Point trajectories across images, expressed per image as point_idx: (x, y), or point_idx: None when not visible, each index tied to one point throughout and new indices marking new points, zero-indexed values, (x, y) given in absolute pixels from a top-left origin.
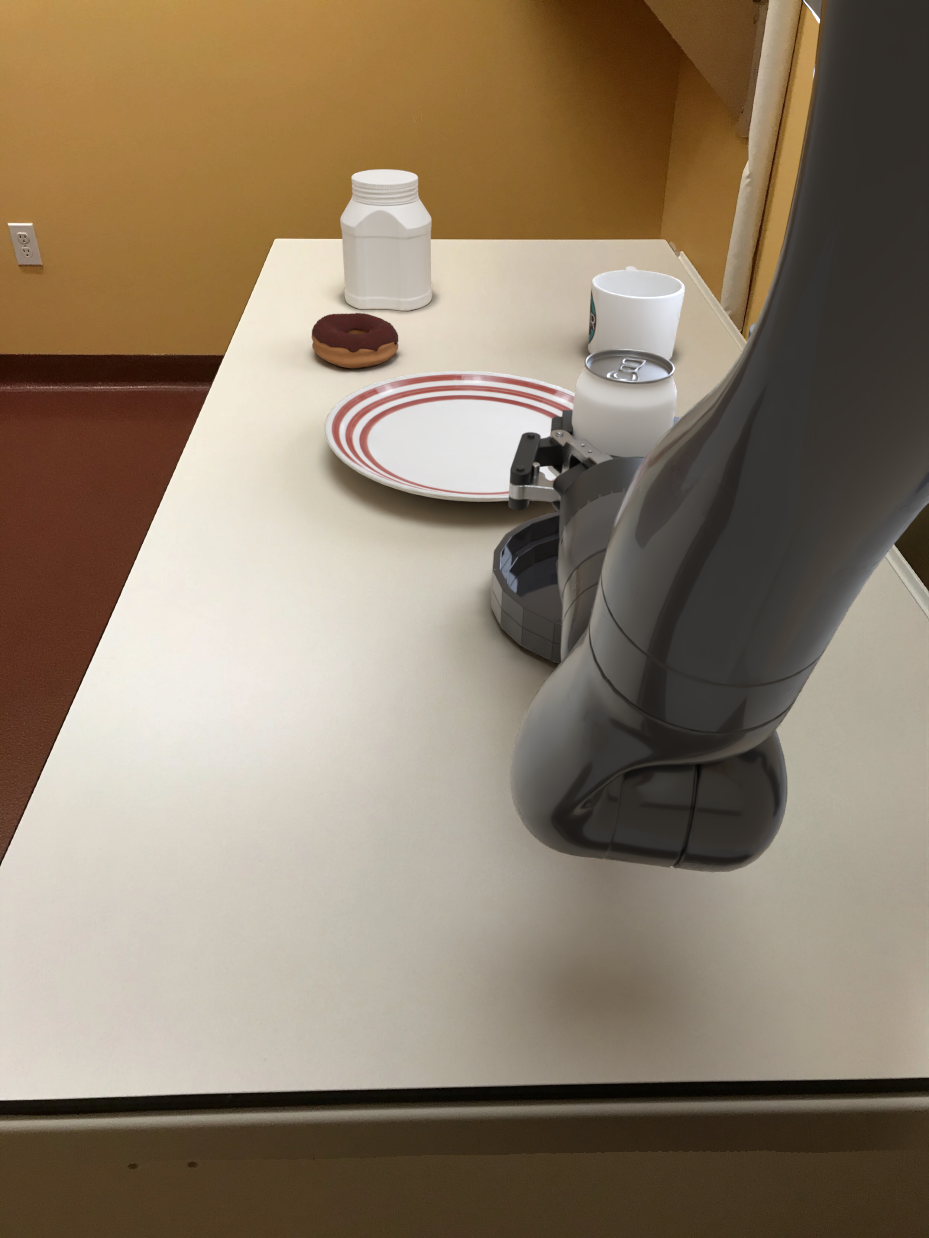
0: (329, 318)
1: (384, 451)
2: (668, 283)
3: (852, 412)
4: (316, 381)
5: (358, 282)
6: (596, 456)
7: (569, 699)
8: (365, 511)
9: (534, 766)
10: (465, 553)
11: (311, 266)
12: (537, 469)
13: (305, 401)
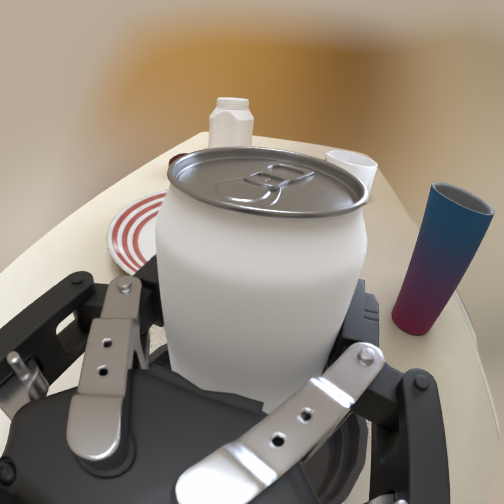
0: (181, 154)
1: (150, 233)
2: (368, 162)
3: None
4: (159, 185)
5: (212, 143)
6: (88, 403)
7: None
8: (110, 277)
9: None
10: (150, 338)
11: (205, 139)
12: (13, 367)
13: (144, 195)
